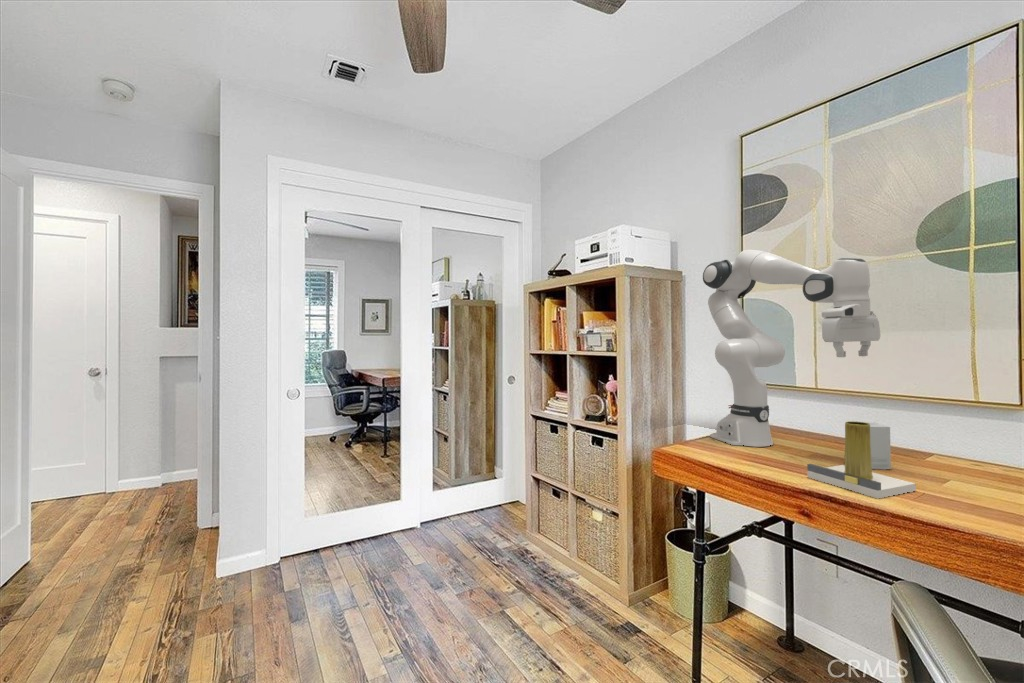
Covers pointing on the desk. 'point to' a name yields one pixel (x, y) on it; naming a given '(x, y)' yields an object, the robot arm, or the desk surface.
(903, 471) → the desk surface
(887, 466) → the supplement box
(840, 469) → the shelf board
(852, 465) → the vase
